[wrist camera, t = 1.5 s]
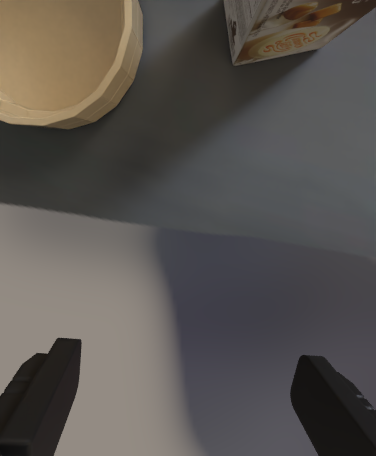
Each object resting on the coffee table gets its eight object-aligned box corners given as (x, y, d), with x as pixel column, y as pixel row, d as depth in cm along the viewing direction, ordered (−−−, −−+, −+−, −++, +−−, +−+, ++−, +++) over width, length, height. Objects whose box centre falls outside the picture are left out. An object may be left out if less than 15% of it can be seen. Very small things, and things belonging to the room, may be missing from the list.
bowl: (-82, -53, 25) (-164, -112, 19) (106, -121, 24) (80, -208, 18) (6, 149, 30) (-38, 149, 24) (166, 102, 29) (160, 91, 23)
